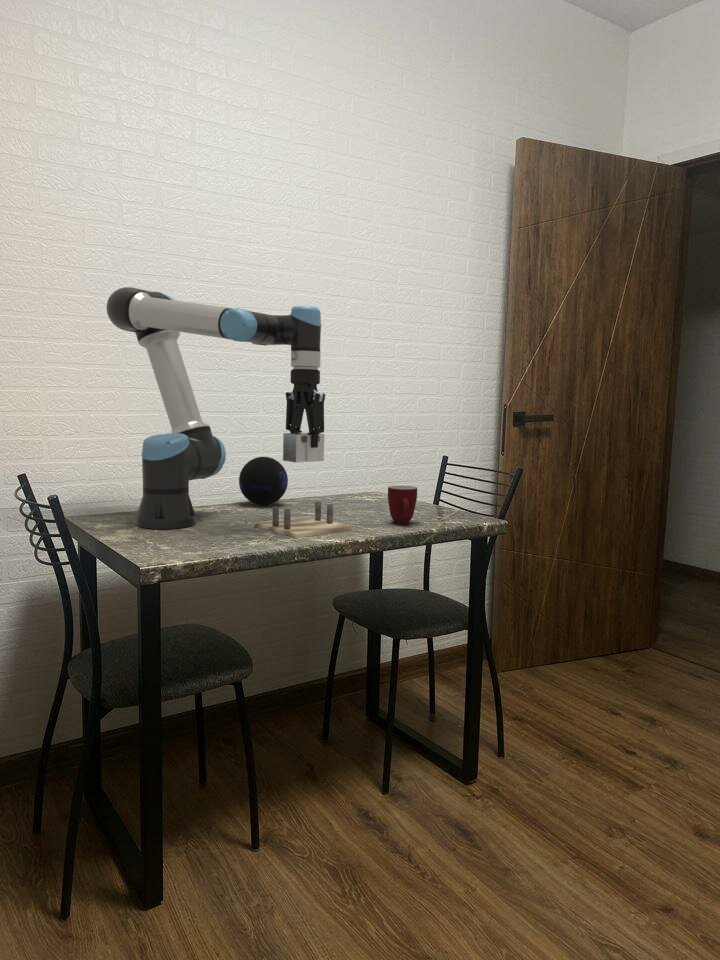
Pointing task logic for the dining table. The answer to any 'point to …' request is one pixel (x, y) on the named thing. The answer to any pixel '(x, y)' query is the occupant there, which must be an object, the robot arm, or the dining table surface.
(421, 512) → the dining table surface
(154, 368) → the robot arm
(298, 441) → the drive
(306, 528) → the wooden peg board
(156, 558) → the dining table surface
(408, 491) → the mug
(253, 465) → the decorative sphere
